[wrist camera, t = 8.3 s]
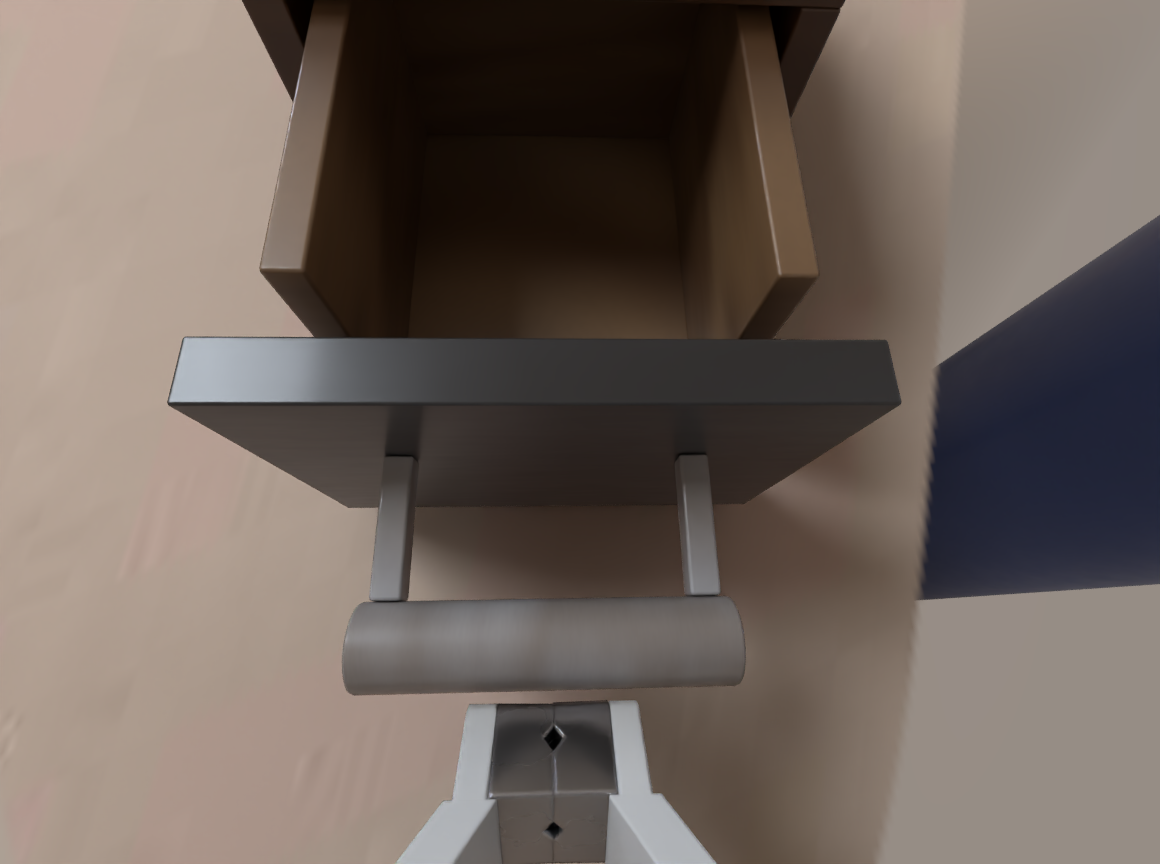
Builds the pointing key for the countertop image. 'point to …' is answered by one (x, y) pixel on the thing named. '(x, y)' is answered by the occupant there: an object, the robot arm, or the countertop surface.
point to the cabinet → (796, 3)
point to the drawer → (538, 314)
